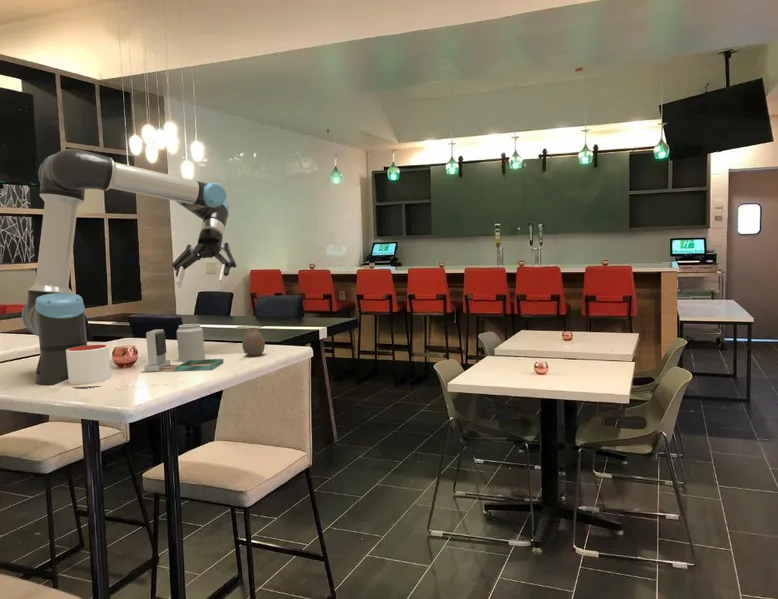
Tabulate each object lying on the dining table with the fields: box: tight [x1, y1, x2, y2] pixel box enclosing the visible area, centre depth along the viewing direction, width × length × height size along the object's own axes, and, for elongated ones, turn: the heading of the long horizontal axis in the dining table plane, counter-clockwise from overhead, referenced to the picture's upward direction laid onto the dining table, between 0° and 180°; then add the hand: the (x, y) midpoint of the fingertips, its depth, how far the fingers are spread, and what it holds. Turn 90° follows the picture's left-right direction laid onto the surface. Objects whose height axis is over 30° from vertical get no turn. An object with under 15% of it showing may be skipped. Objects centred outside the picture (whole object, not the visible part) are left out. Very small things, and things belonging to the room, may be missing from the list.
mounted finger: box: [144, 328, 171, 373], centre depth 174 cm, size 4×8×11 cm, turn 178°
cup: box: [66, 344, 112, 390], centre depth 163 cm, size 10×10×10 cm
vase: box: [241, 327, 266, 358], centre depth 198 cm, size 7×7×9 cm
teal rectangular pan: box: [139, 358, 224, 374], centre depth 175 cm, size 20×10×3 cm, turn 88°
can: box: [176, 323, 206, 363], centre depth 187 cm, size 8×8×12 cm
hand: (199, 283), depth 197 cm, fingers open, 13 cm apart
